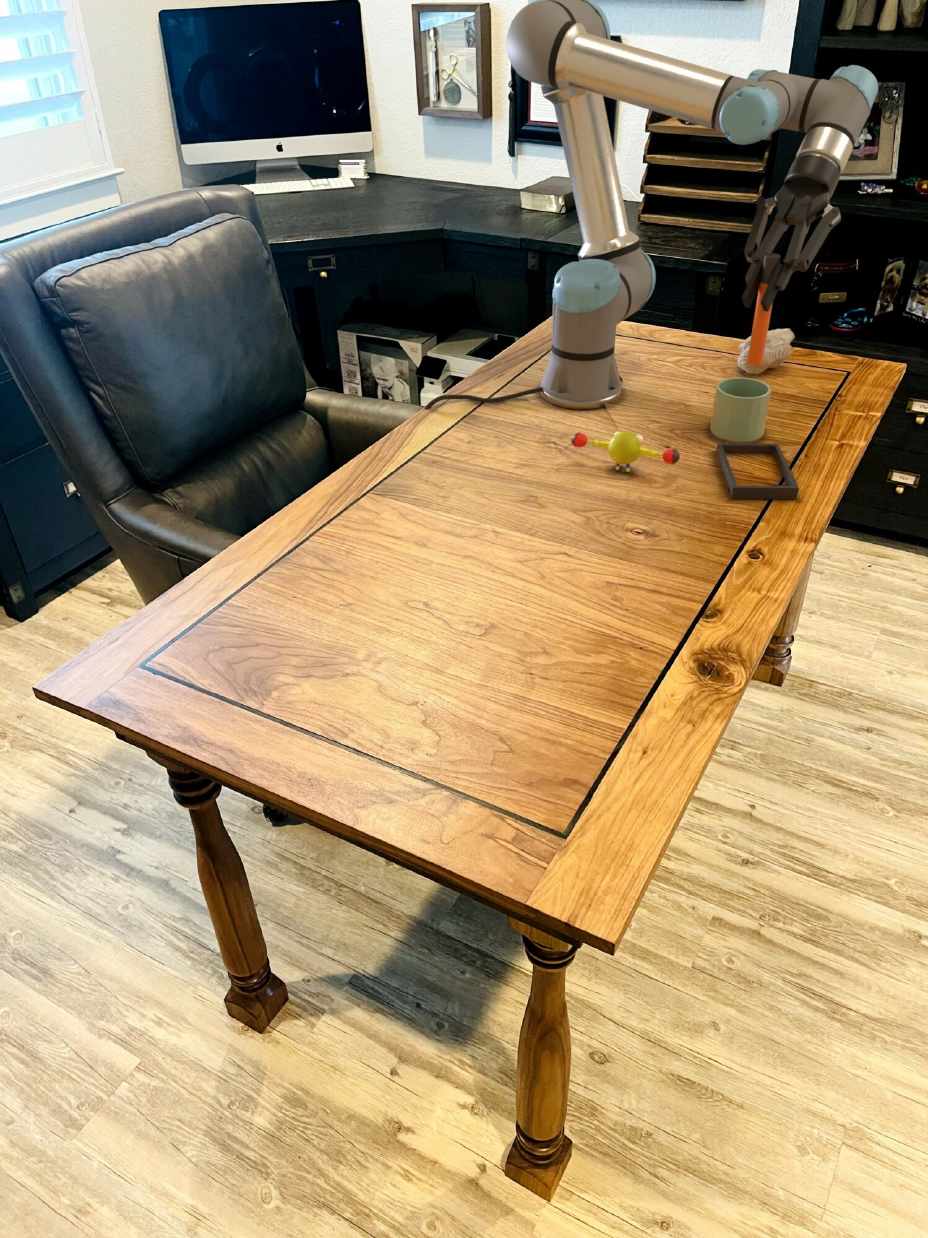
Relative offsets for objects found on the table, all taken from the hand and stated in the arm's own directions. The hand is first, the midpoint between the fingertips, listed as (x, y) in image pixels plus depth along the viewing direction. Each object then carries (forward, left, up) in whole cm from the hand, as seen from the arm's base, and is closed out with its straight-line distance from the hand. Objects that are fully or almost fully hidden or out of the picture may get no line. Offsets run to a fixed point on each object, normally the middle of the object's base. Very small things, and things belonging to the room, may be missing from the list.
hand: (754, 304), depth 148 cm
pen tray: (+1, -9, -25) cm, 26 cm away
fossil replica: (+18, +34, -25) cm, 46 cm away
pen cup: (+3, +7, -25) cm, 26 cm away
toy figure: (-20, -4, -25) cm, 32 cm away
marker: (+3, +3, -11) cm, 11 cm away
